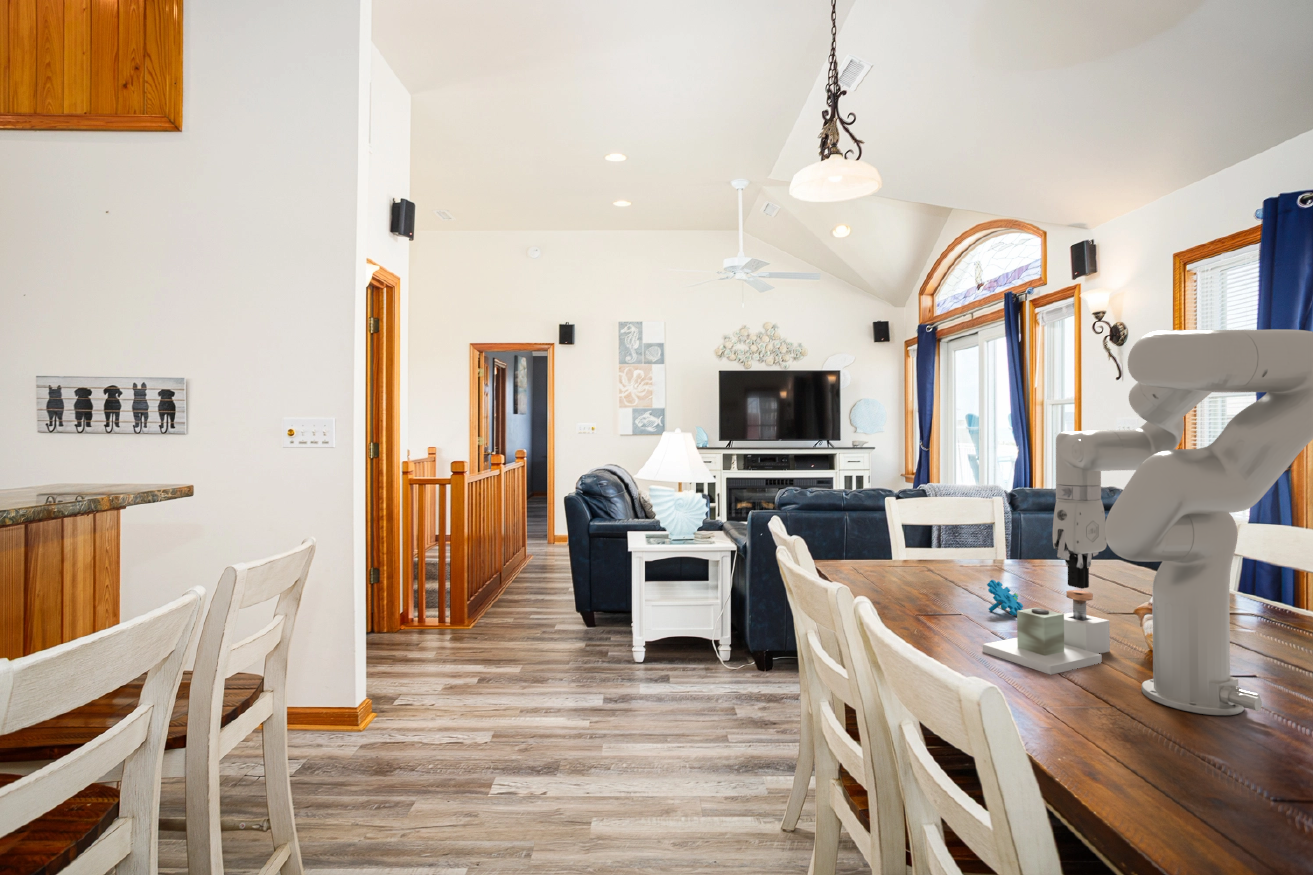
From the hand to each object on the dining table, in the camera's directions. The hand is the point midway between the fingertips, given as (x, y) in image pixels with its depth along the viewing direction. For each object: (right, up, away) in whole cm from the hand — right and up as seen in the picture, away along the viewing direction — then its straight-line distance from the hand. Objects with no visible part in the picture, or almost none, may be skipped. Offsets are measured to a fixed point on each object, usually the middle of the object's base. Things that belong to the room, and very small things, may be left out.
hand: (1078, 586), depth 132 cm
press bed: (-7, -12, -3) cm, 14 cm away
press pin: (0, -7, 0) cm, 7 cm away
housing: (-10, -11, -5) cm, 16 cm away
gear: (0, -13, +26) cm, 29 cm away
